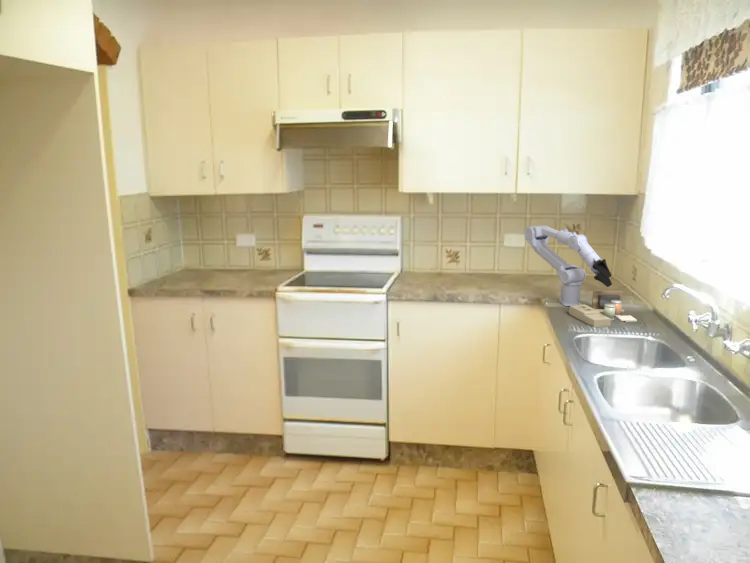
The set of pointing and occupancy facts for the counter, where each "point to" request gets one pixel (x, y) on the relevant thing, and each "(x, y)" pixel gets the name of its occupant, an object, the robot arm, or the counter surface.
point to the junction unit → (605, 299)
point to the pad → (626, 318)
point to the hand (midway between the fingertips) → (609, 281)
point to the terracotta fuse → (617, 307)
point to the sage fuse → (609, 311)
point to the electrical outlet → (589, 315)
